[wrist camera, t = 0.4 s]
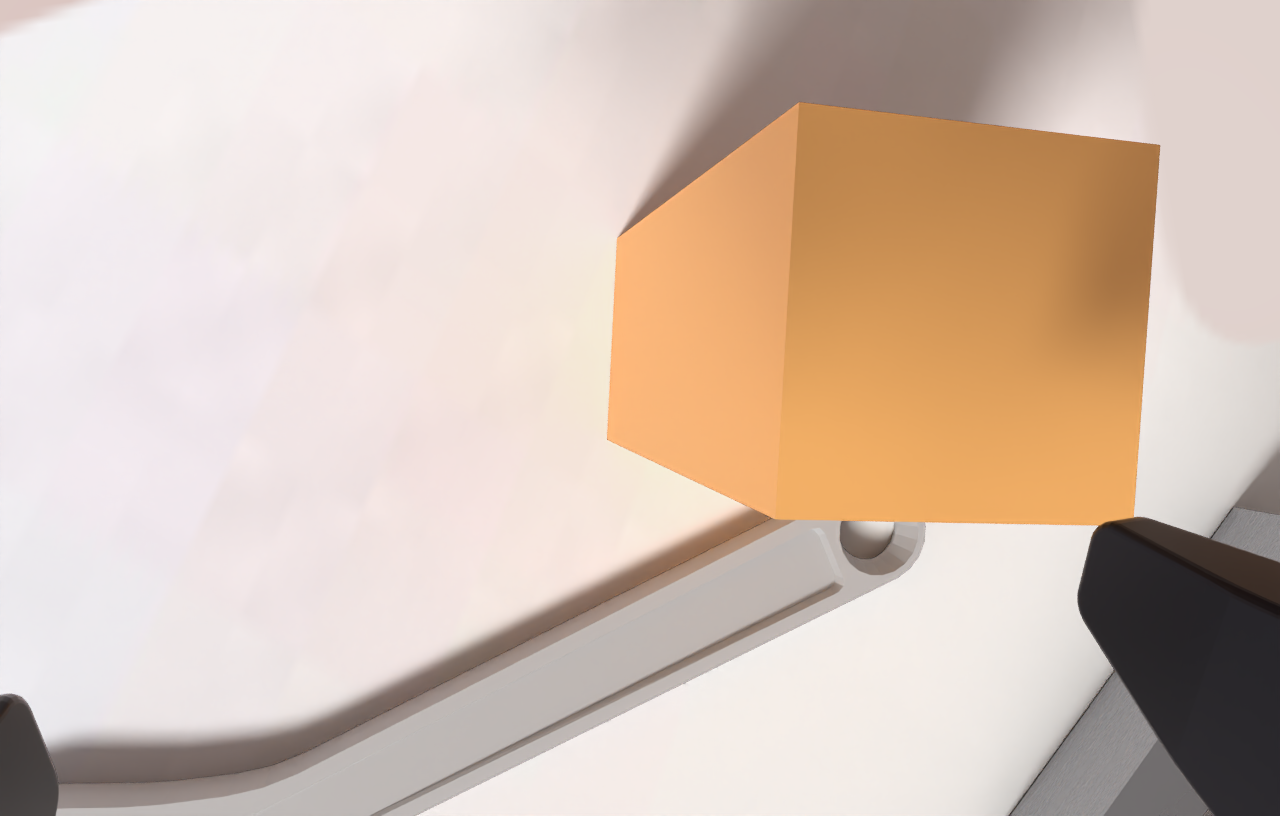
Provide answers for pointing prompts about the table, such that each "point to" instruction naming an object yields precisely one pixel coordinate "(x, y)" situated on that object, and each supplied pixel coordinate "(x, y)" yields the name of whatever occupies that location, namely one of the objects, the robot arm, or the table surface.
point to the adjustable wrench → (543, 684)
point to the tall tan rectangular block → (894, 322)
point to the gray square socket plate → (1131, 733)
